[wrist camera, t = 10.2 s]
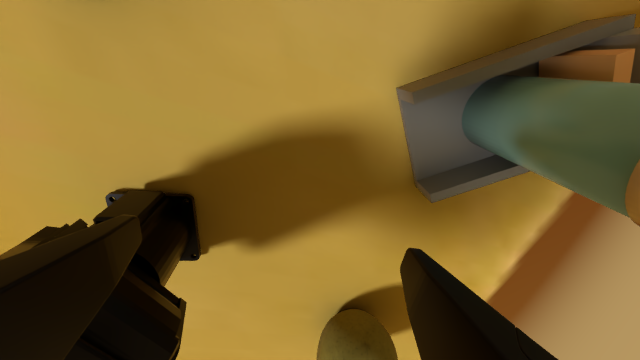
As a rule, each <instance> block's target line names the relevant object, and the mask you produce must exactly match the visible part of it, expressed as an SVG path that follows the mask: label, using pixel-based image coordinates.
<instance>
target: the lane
mask: <svg viewBox="0 0 640 360" xmlns="http://www.w3.org/2000/svg"><path fill="white" fill-rule="evenodd" d="M635 16H636V14H630V15H623V16H616V17H609V18H602V19H594V20H587V21H584V22H581V23H578V24H576V25H573V26H570V27H567V28H564V29H562V30H559V31H556V32H553V33H550V34H547V35H545V36H542V37H539V38H536V39H533V40H530V41H528V42H525V43H522V44H519V45H516V46H514V47H511V48H508V49H505V50H502V51H499V52H497V53H494V54H491V55H488V56H485V57H482V58H480V59H477V60H474V61H471V62H468V63H465V64H463V65H460V66H457V67H454V68H451V69H449V70H446V71H443V72H440V73H437V74H434V75H432V76H429V77H426V78H423V79H420V80H417V81H415V82H412V83H409V84H406V85H403V86H401V87H398V88H396V90H397V95H398V100H399V105H400V110H401V115H402V120H403V125H404V130H405V135H406V140H407V145H408V150H409V155H410V160H411V165H412V170H413V175H414V180H415V185H416V187H417V188H418V189H419V190H420V191H421V192H422V193H423V195H424V196H425V197H426V198H427V199H428V200H429V201H430V202H431V203H433V202H436V201H440V200H443V199H446V198H449V197H452V196H455V195H458V194H461V193H464V192H467V191H470V190H474V189H477V188H480V187H483V186H486V185H489V184H492V183H495V182H498V181H501V180H504V179H508V178H511V177H514V176H517V175H520V174H523V173H526V172H529V171H530V170H528V169H525V168H523V167H521V166H519V165H517V164H515V163H513V162H511V161H508V160H506V159H504V158H502V157H500V156H498V155H496V154H494V153H491V152H489V151H487V150H485V149H483V148H481V147H479V146H477V145H475V144H473V143H471V142H470V141H469V140H468V139H467V137H466V136H465V134H464V132H463V128H462V115H463V111H464V108H465V105H466V103H467V101H468V99H469V98H470V96H471V95H472V94H473V92H474V91H475V90H476V89H477V88H478V87H479V86H480V85H482V84H483V83H484V82H486V81H488V80H489V79H492V78H494V77H497V76H501V75H517V76H532V77H539V61H541V60H544V59H546V58H549V57H552V56H555V55H558V54H561V53H564V52H567V51H581V50H608V49H635V54H634V60H633V67H632V73H631V79H630V83H639V84H640V28H634V23H635Z"/></svg>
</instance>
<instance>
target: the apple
mask: <svg viewBox="0 0 640 360" xmlns="http://www.w3.org/2000/svg"><path fill="white" fill-rule="evenodd" d="M317 360H398V359H397V353H396V349H395V346H394V344H393V341H392V339H391V337H390V335H389V333H388V332H387V330H386V329H385V328H384V326H383V325H382V324H381V323H380V322H379V321H378V320H377V319H376V318H375V317H373V316H372V315H371V314H369V313H367V312H365V311H363V310H359V309H348V310H345V311H342V312H340V313H338V314H336V315H335V316H334V317H332V318H331V319H330V320H329V322H328V323H327V324H326V326H325V328H324V330H323V332H322V334H321V337H320V340H319V345H318V350H317Z"/></svg>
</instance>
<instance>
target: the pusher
mask: <svg viewBox="0 0 640 360" xmlns="http://www.w3.org/2000/svg"><path fill="white" fill-rule="evenodd" d="M634 54H635V49H608V50H581V51H567V52H564V53H561V54H558V55H555V56H552V57H549V58H546V59H544V60H541V61H539V77H548V78H563V79H578V80H593V81H608V82H623V83H630V79H631V73H632V67H633V60H634Z"/></svg>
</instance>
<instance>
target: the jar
mask: <svg viewBox="0 0 640 360" xmlns="http://www.w3.org/2000/svg"><path fill="white" fill-rule="evenodd" d="M462 128H463V132H464V134H465V136H466V137H467V139H468V140H469V141H470V142H471V143H473V144H475V145H477V146H479V147H481V148H483V149H485V150H487V151H489V152H491V153H494V154H496V155H498V156H500V157H502V158H504V159H506V160H508V161H511V162H513V163H515V164H517V165H519V166H521V167H523V168H525V169H528V170H530V171H532V172H534V173H536V174H538V175H540V176H542V177H545V178H547V179H549V180H551V181H553V182H555V183H557V184H559V185H561V186H564V187H566V188H568V189H570V190H572V191H574V192H576V193H578V194H581V195H583V196H585V197H587V198H589V199H591V200H593V201H595V202H598V203H600V204H602V205H604V206H606V207H608V208H610V209H613V210H615V211H617V212H619V213H621V214H623V215H625V216H628V217H630V218H631V220H632V221H633V222H634V223H635V224H637V225H638V226H640V84H639V83H623V82H608V81H593V80H578V79H563V78H548V77H532V76H517V75H501V76H497V77H494V78H492V79H489V80H488V81H486V82H484V83H483V84H482V85H480V86H479V87H478V88H477V89H476V90H475V91H474V92H473V94H472V95H471V96H470V98H469V99H468V101H467V103H466V105H465V108H464V111H463V115H462Z"/></svg>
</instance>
